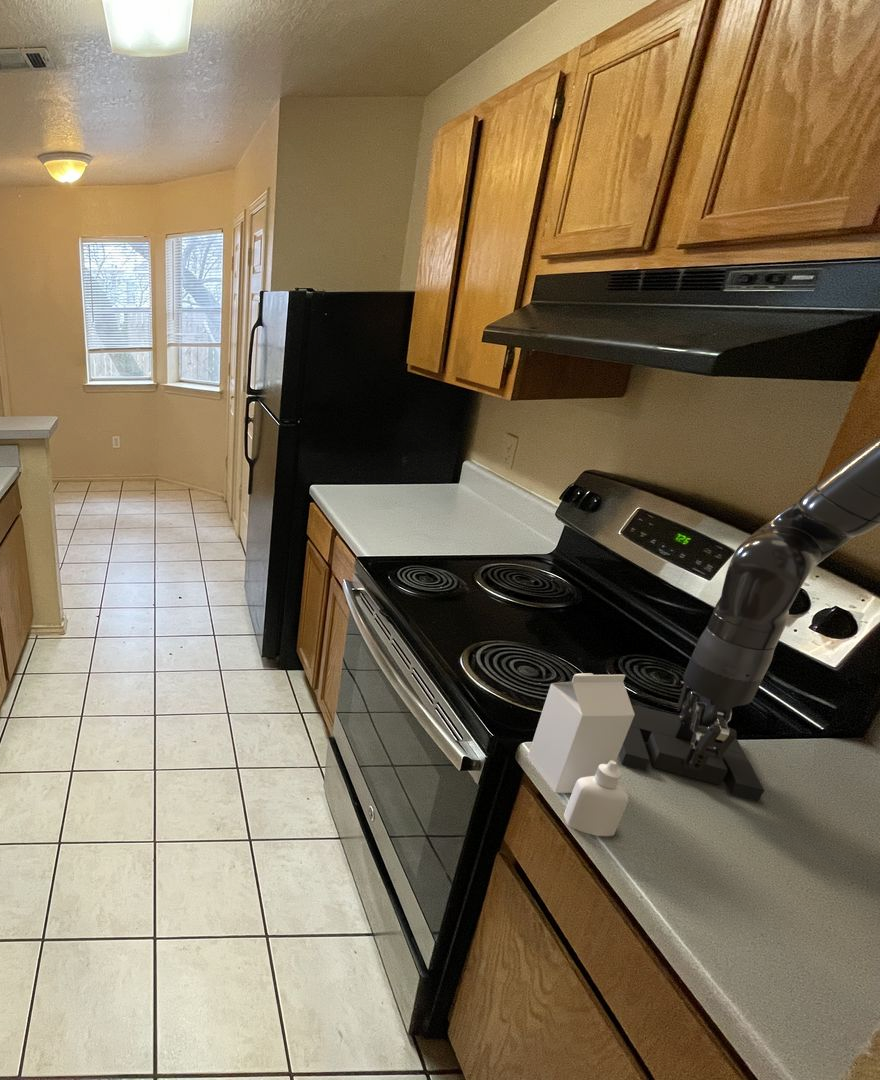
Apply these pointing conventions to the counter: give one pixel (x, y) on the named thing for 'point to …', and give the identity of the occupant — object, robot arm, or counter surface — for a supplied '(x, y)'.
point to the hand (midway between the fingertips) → (686, 755)
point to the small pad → (671, 755)
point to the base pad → (739, 768)
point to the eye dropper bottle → (597, 802)
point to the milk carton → (580, 728)
